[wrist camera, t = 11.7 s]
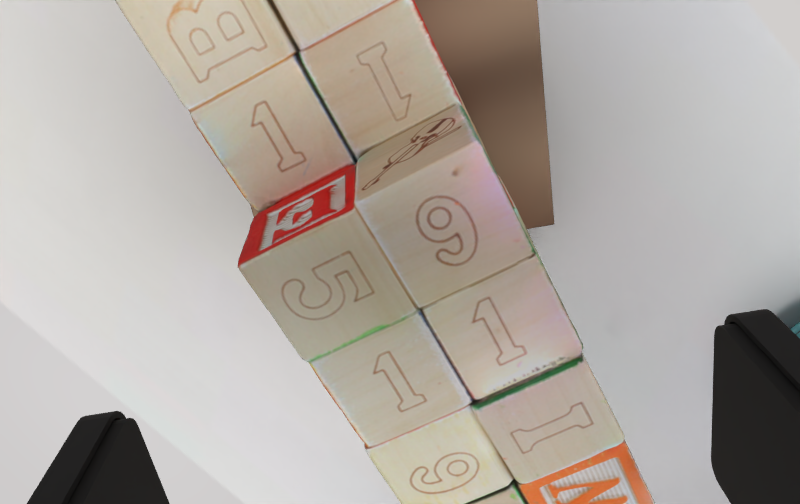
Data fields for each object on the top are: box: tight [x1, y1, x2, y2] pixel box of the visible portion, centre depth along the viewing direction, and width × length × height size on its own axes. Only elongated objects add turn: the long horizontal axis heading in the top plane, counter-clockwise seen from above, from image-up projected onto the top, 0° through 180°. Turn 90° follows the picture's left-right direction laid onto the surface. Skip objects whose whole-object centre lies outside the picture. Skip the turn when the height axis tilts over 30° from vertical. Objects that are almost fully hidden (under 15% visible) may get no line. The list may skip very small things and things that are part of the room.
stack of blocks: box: [115, 0, 655, 504], centre depth 21 cm, size 21×6×12 cm, turn 26°
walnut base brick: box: [250, 0, 554, 229], centre depth 29 cm, size 10×12×5 cm
